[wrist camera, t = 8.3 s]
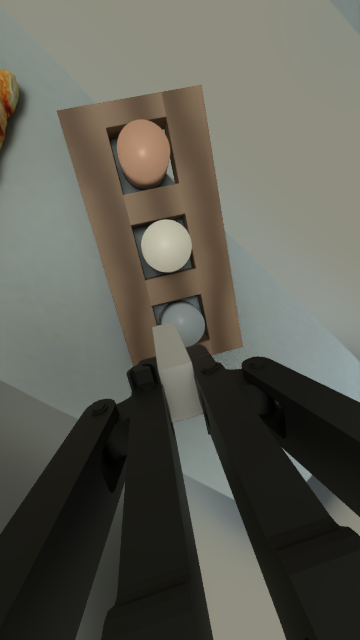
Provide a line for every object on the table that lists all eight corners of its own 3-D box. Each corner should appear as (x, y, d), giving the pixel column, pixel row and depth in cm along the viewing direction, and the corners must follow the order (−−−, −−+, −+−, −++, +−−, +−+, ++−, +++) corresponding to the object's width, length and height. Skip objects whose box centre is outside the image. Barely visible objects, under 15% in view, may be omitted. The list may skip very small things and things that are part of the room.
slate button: (165, 341, 32) (167, 352, 28) (156, 305, 30) (157, 311, 27) (201, 332, 32) (208, 341, 29) (194, 296, 31) (200, 301, 27)
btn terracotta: (127, 193, 27) (125, 184, 24) (114, 142, 26) (110, 124, 22) (171, 184, 27) (175, 174, 24) (161, 133, 26) (163, 114, 22)
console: (136, 366, 33) (135, 374, 30) (65, 124, 25) (56, 110, 23) (235, 340, 34) (242, 346, 31) (196, 100, 26) (201, 84, 24)
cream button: (148, 274, 28) (148, 277, 24) (136, 229, 26) (135, 225, 23) (190, 265, 28) (196, 266, 25) (181, 219, 27) (186, 214, 23)
